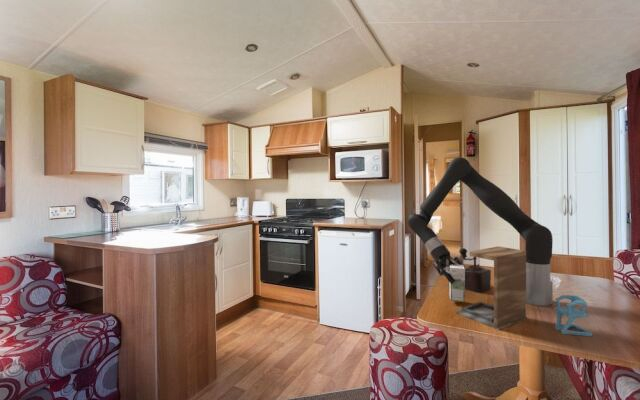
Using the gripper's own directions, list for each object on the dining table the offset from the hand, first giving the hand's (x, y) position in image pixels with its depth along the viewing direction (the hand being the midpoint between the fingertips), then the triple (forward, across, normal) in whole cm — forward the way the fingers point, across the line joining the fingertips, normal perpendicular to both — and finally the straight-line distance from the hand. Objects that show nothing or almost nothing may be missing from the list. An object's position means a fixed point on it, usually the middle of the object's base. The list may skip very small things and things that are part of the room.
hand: (459, 280), depth 130 cm
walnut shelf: (+17, 0, -2) cm, 17 cm away
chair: (+32, +10, -17) cm, 38 cm away
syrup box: (+5, 0, +7) cm, 9 cm away
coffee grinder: (-1, +24, +16) cm, 28 cm away
